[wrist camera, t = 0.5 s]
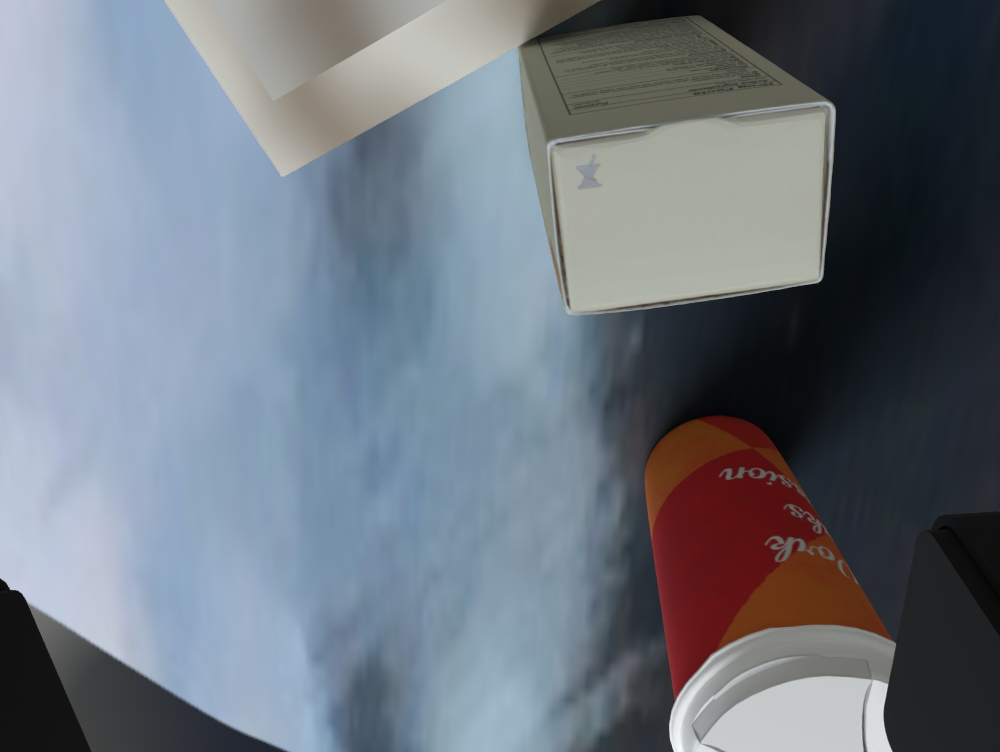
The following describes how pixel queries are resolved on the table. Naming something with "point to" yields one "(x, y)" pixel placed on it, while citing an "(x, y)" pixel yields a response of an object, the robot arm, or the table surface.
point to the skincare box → (674, 165)
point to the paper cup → (758, 603)
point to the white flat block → (349, 59)
